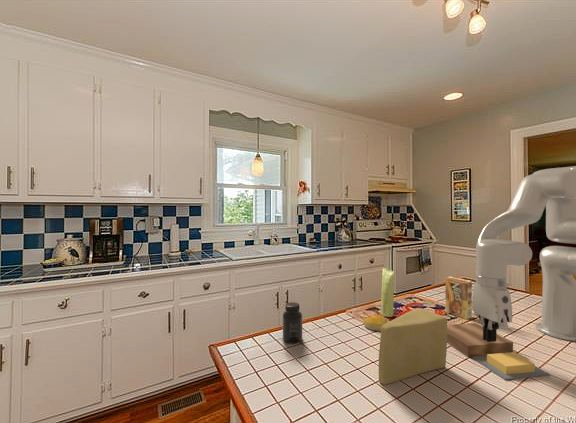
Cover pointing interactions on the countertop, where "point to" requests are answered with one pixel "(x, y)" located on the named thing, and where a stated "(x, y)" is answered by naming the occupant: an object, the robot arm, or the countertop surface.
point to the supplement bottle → (292, 323)
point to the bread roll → (374, 322)
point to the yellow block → (510, 363)
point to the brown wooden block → (475, 340)
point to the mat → (484, 362)
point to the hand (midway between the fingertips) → (489, 340)
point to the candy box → (459, 297)
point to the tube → (387, 293)
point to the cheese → (412, 345)
